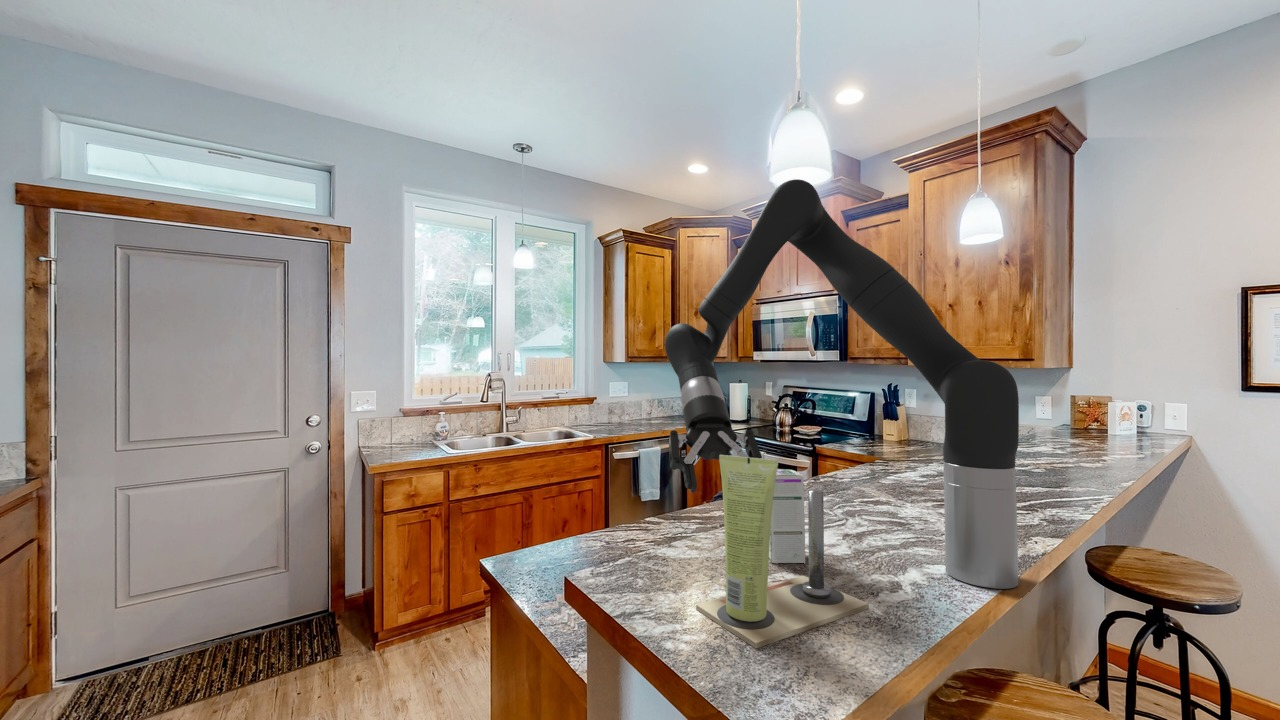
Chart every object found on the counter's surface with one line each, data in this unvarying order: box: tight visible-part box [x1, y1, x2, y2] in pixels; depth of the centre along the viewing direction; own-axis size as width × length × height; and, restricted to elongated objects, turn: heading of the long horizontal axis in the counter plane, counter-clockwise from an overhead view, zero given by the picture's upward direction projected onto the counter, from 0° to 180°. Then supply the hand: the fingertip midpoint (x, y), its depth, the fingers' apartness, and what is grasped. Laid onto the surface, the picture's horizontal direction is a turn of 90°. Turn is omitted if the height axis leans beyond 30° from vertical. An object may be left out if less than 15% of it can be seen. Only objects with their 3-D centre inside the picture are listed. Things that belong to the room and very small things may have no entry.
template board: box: [695, 575, 870, 649], centre depth 65 cm, size 20×11×1 cm, turn 121°
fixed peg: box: [803, 488, 832, 599], centre depth 69 cm, size 4×4×14 cm
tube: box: [718, 455, 779, 622], centre depth 63 cm, size 6×5×20 cm
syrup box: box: [769, 468, 806, 565], centre depth 84 cm, size 6×6×14 cm
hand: (722, 489), depth 74 cm, fingers open, 8 cm apart
